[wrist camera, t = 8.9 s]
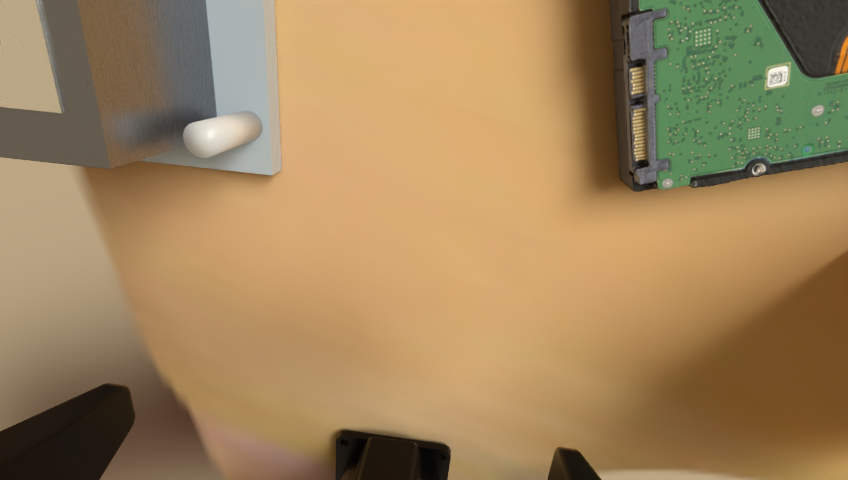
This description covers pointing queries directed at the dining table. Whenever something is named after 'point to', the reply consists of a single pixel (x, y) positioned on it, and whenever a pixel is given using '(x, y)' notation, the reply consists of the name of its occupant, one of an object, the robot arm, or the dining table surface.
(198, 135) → the tray
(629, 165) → the disk drive
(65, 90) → the block
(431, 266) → the dining table surface
